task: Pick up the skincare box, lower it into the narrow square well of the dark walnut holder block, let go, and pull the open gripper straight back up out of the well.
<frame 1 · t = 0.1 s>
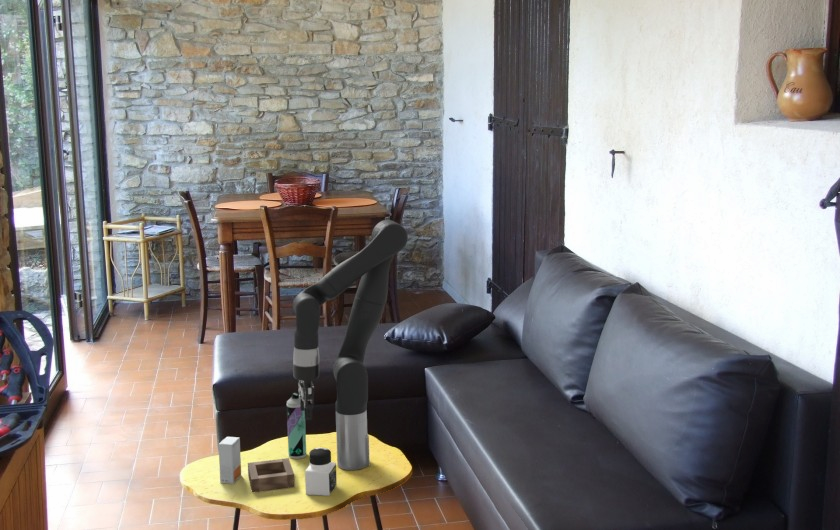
hand: (306, 414, 262), 17 cm above the table, tool pointing down, fingers open, 8 cm apart
walnut well block: (271, 481, 257), on the table
skincare box: (231, 480, 259), on the table
spray can: (297, 455, 276), on the table
medicine bottle: (321, 490, 251), on the table
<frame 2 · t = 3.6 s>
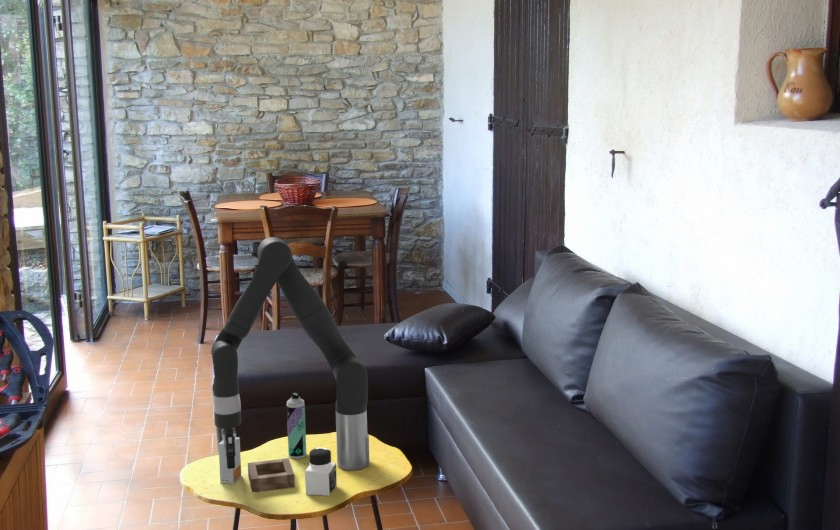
hand: (230, 462, 258), 5 cm above the table, tool pointing down, fingers closed on skincare box, 7 cm apart
skincare box: (231, 479, 259), on the table, touching gripper
everything else where it was.
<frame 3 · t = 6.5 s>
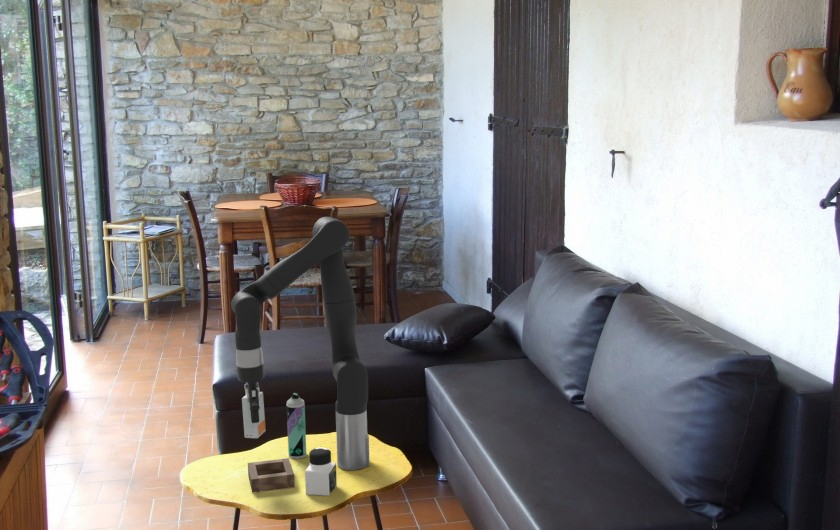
hand: (254, 417, 255), 19 cm above the table, tool pointing down, fingers closed on skincare box, 7 cm apart
skincare box: (255, 435, 256), point 14 cm above the table, touching gripper
everything else where it was.
when the fingers open (6 cm above the table, at t = 9.5 s): skincare box drops 1 cm, resting in walnut well block.
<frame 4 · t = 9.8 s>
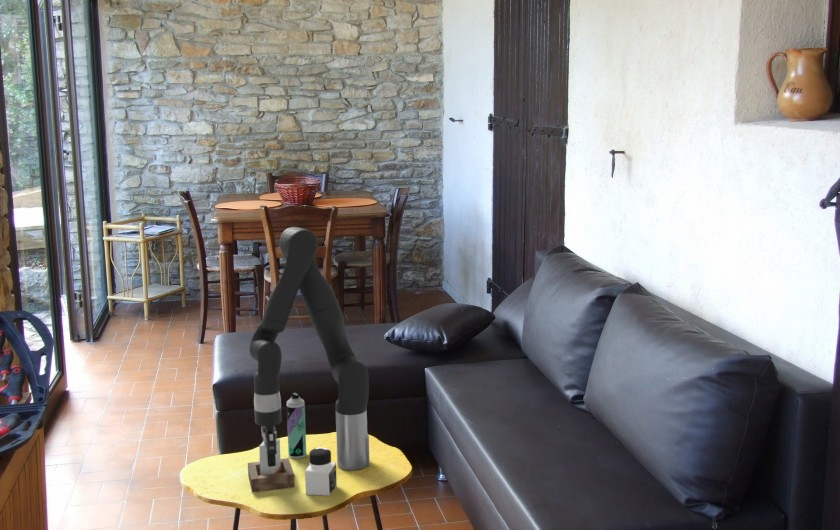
hand: (270, 460, 256), 6 cm above the table, tool pointing down, fingers open, 8 cm apart
skincare box: (271, 482, 258), resting in walnut well block
everything else where it was.
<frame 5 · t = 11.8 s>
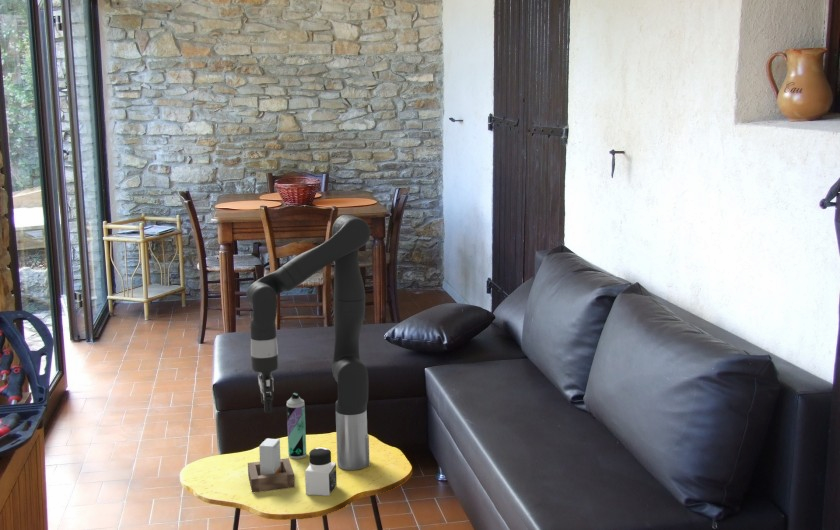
hand: (267, 407, 254), 22 cm above the table, tool pointing down, fingers open, 8 cm apart
nothing on the table moved.
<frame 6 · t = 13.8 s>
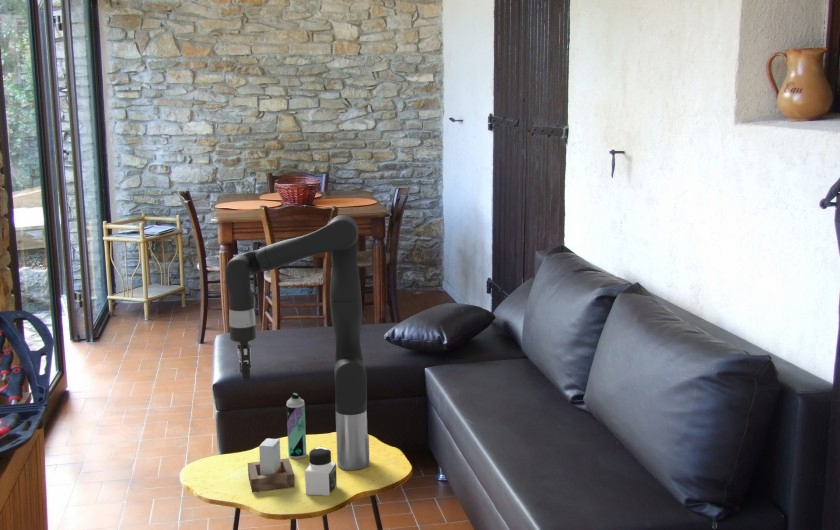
hand: (245, 376, 263), 28 cm above the table, tool pointing down, fingers open, 8 cm apart
nothing on the table moved.
at the end: skincare box 0.1 cm off-centre on the walnut well block, point 0.0 cm above the walnut well block's base; skincare box tilted 0°; the gripper is holding nothing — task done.
